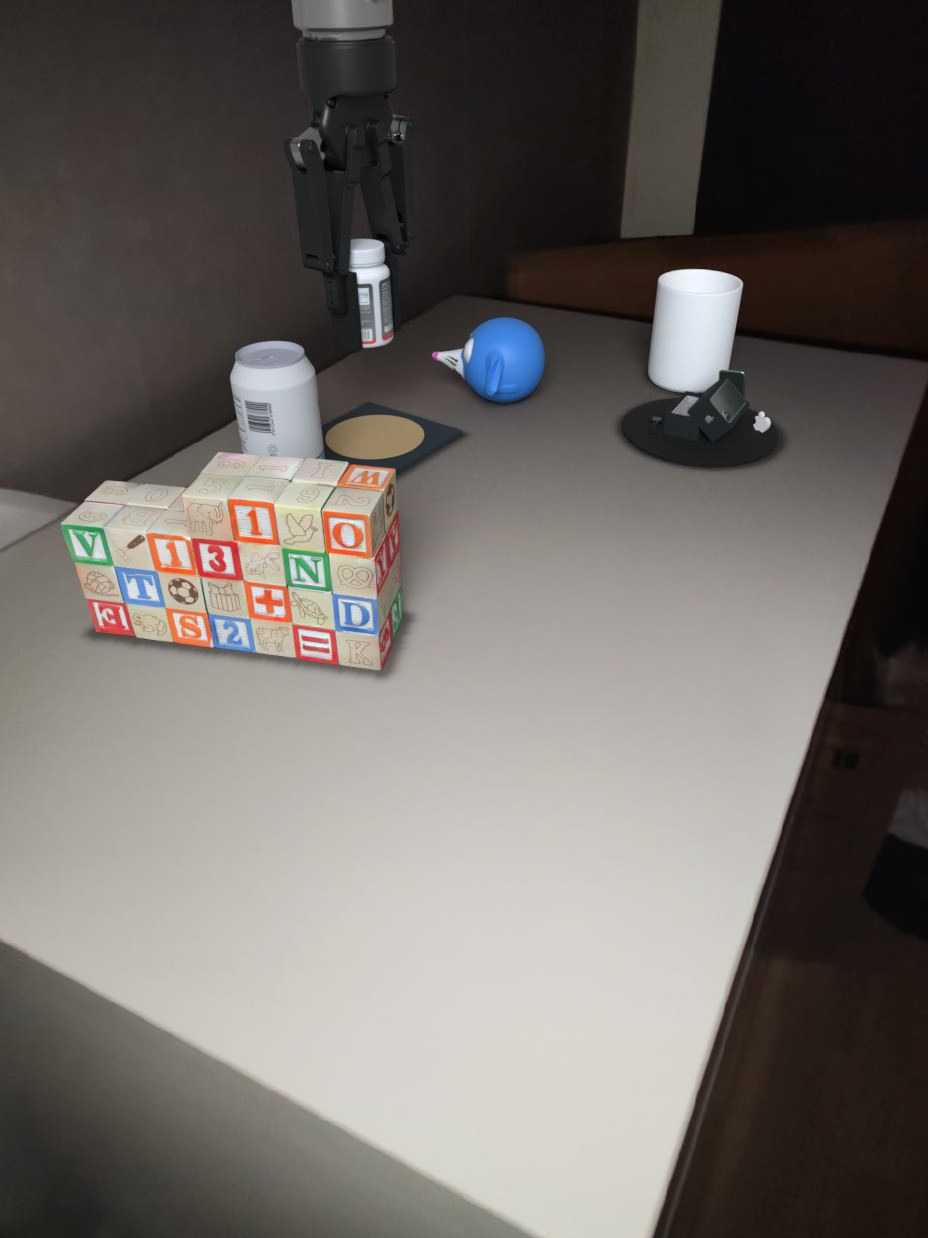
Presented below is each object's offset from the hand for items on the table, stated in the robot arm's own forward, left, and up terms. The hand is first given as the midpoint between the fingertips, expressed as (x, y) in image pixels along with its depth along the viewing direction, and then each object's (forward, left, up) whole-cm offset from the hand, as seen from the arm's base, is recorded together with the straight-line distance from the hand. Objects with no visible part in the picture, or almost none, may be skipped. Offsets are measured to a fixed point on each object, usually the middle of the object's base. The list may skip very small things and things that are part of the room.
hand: (368, 336), depth 83 cm
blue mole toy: (+3, +15, -11) cm, 19 cm away
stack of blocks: (+12, -28, -11) cm, 32 cm away
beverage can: (0, -12, -10) cm, 16 cm away
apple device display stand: (+25, +20, -11) cm, 34 cm away
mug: (+18, +33, -11) cm, 39 cm away
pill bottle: (0, 0, -1) cm, 1 cm away
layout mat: (0, -6, -11) cm, 12 cm away
